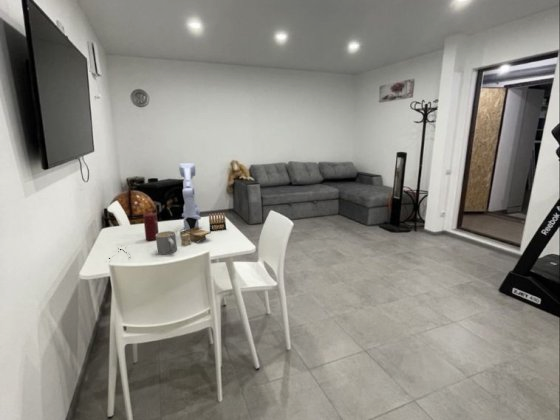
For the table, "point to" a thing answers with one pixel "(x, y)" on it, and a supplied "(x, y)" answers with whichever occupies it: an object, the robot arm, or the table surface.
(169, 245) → the coffee mug
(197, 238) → the wooden box
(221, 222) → the ammunition clip
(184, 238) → the tan wooden block
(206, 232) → the lid
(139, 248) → the table surface
